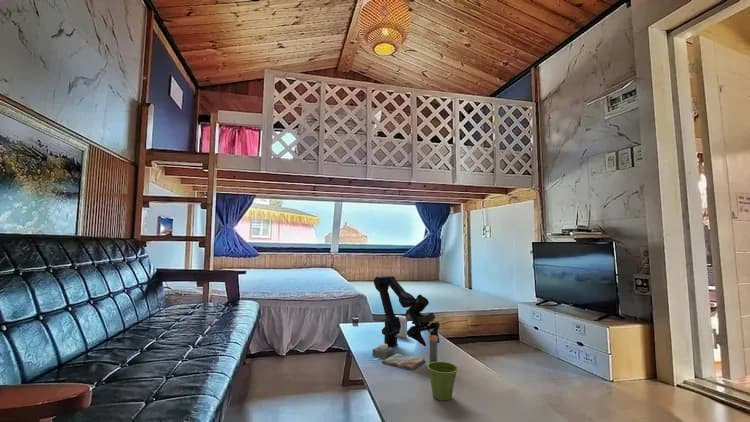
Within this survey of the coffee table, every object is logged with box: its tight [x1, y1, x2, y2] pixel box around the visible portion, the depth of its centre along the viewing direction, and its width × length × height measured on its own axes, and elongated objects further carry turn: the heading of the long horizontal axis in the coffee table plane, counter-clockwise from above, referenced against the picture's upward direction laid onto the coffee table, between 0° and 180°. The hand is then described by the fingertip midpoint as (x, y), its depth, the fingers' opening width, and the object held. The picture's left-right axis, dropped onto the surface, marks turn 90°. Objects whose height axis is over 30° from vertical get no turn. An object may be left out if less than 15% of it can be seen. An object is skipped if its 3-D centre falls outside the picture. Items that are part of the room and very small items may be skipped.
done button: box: [378, 343, 388, 351], centre depth 187 cm, size 4×4×3 cm
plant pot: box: [426, 361, 459, 402], centre depth 139 cm, size 12×12×11 cm
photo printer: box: [394, 314, 408, 339], centre depth 223 cm, size 10×4×12 cm, turn 39°
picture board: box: [381, 353, 426, 371], centre depth 176 cm, size 16×14×1 cm
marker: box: [429, 335, 439, 363], centre depth 177 cm, size 4×4×12 cm
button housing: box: [372, 346, 395, 359], centre depth 187 cm, size 8×8×3 cm
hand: (432, 344), depth 178 cm, fingers open, 9 cm apart
